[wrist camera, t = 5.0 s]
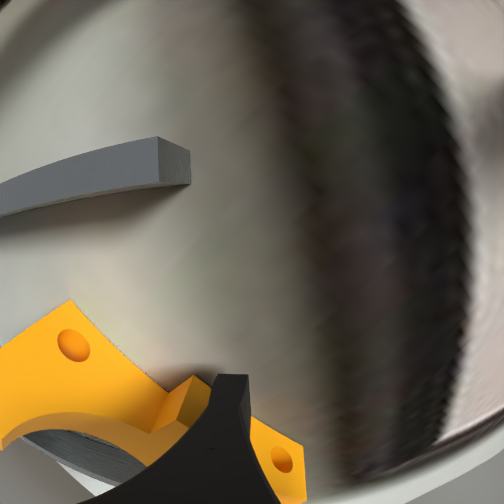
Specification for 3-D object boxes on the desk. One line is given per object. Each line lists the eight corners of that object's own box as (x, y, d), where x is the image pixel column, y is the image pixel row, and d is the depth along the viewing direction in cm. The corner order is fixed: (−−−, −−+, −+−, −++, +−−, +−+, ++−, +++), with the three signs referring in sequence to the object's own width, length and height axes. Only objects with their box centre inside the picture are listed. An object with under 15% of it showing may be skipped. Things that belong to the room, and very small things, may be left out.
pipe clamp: (303, 446, 10) (308, 563, 4) (239, 472, 11) (226, 567, 5) (86, 271, 9) (-50, 356, 2) (53, 331, 10) (-35, 407, 3)
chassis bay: (232, 476, 11) (228, 510, 9) (33, 420, 12) (18, 438, 10) (189, 151, 8) (157, 136, 5) (-37, 212, 9) (-65, 218, 6)
